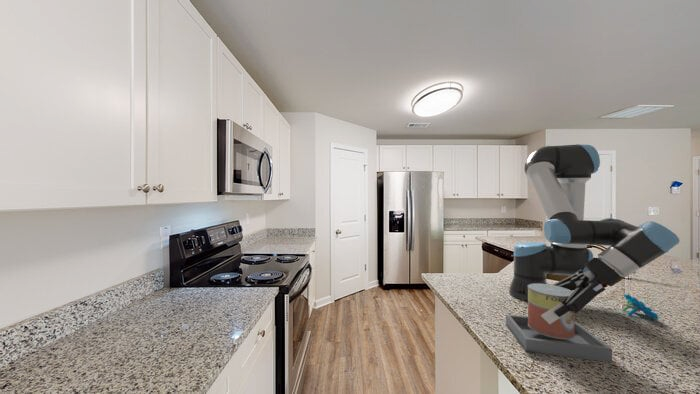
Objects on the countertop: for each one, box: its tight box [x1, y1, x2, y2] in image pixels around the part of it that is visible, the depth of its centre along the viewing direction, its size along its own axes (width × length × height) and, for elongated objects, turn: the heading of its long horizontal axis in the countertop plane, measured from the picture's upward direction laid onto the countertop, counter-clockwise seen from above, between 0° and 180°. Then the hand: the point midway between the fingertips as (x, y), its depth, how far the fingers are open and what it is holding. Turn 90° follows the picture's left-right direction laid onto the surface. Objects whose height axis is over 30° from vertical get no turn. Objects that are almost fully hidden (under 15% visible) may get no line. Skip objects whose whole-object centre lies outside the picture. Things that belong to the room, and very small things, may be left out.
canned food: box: [527, 283, 576, 339], centre depth 79 cm, size 11×11×12 cm
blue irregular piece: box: [622, 293, 660, 320], centre depth 96 cm, size 11×6×10 cm
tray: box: [505, 313, 613, 363], centre depth 79 cm, size 16×20×4 cm
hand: (541, 311), depth 80 cm, fingers closed on canned food, 11 cm apart
